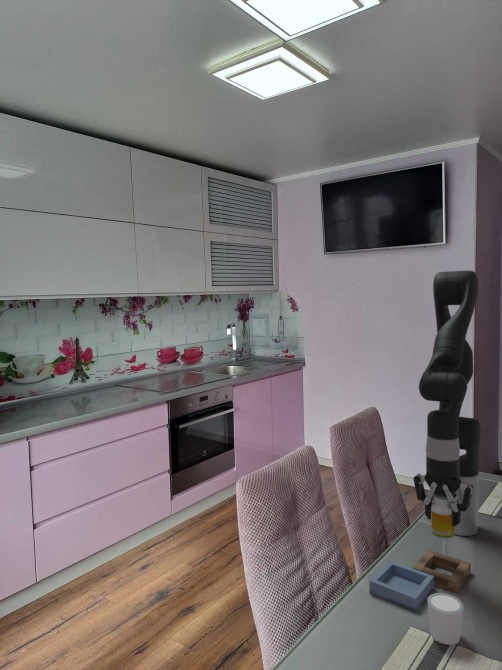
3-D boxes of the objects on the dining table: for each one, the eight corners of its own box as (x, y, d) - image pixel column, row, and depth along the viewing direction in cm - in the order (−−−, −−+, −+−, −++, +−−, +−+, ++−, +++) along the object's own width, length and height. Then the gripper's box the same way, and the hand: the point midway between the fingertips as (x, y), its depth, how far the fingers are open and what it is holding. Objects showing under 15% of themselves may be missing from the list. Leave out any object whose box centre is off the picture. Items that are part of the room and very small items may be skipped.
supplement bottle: (456, 541, 118) (456, 502, 117) (432, 539, 119) (432, 501, 118) (452, 530, 123) (452, 492, 122) (429, 529, 124) (429, 491, 123)
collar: (428, 559, 129) (428, 549, 129) (470, 572, 123) (470, 563, 122) (412, 577, 121) (412, 567, 121) (456, 593, 115) (456, 582, 114)
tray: (390, 572, 124) (390, 560, 124) (434, 588, 117) (434, 576, 116) (369, 593, 115) (369, 580, 115) (415, 611, 108) (415, 598, 108)
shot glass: (460, 651, 96) (460, 617, 96) (423, 639, 100) (423, 606, 99) (465, 631, 102) (466, 598, 101) (431, 620, 106) (431, 588, 105)
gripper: (478, 455, 117) (478, 523, 119) (419, 444, 127) (419, 508, 128) (469, 464, 112) (468, 536, 113) (407, 452, 121) (407, 519, 123)
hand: (442, 521), depth 121 cm, fingers closed on supplement bottle, 5 cm apart
